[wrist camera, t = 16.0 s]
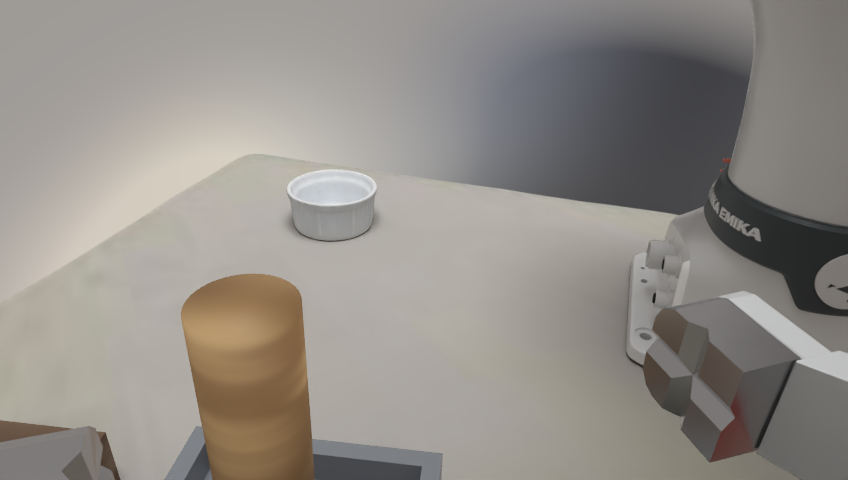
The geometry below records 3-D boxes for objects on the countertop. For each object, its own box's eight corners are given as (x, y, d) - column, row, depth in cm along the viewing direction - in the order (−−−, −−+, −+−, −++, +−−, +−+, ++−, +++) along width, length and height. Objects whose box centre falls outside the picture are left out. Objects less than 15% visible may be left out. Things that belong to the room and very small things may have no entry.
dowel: (252, 539, 31) (210, 269, 23) (331, 549, 31) (315, 279, 23) (221, 620, 27) (158, 335, 20) (308, 633, 27) (281, 347, 19)
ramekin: (331, 198, 69) (329, 162, 67) (394, 220, 64) (394, 182, 62) (271, 228, 62) (267, 188, 60) (337, 255, 58) (335, 213, 56)
